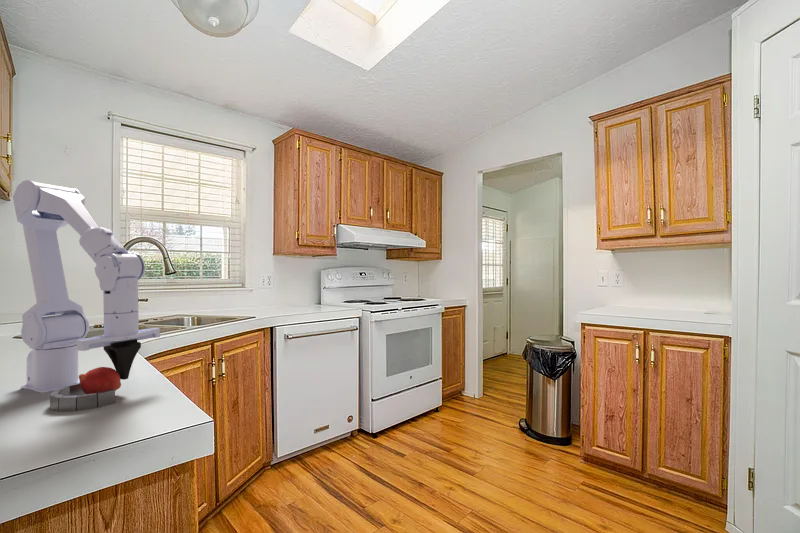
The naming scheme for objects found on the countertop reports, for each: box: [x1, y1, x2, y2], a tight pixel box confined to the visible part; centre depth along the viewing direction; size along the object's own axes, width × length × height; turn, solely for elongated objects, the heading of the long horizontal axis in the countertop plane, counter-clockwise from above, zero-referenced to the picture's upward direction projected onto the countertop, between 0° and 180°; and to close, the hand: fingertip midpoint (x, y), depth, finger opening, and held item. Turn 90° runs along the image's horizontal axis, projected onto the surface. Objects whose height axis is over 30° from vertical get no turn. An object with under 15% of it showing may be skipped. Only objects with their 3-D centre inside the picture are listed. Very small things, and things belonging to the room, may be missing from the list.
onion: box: [78, 366, 122, 395], centre depth 74 cm, size 6×6×8 cm
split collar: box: [49, 382, 116, 413], centre depth 71 cm, size 11×7×3 cm, turn 65°
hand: (122, 378), depth 77 cm, fingers closed, pressing on onion
